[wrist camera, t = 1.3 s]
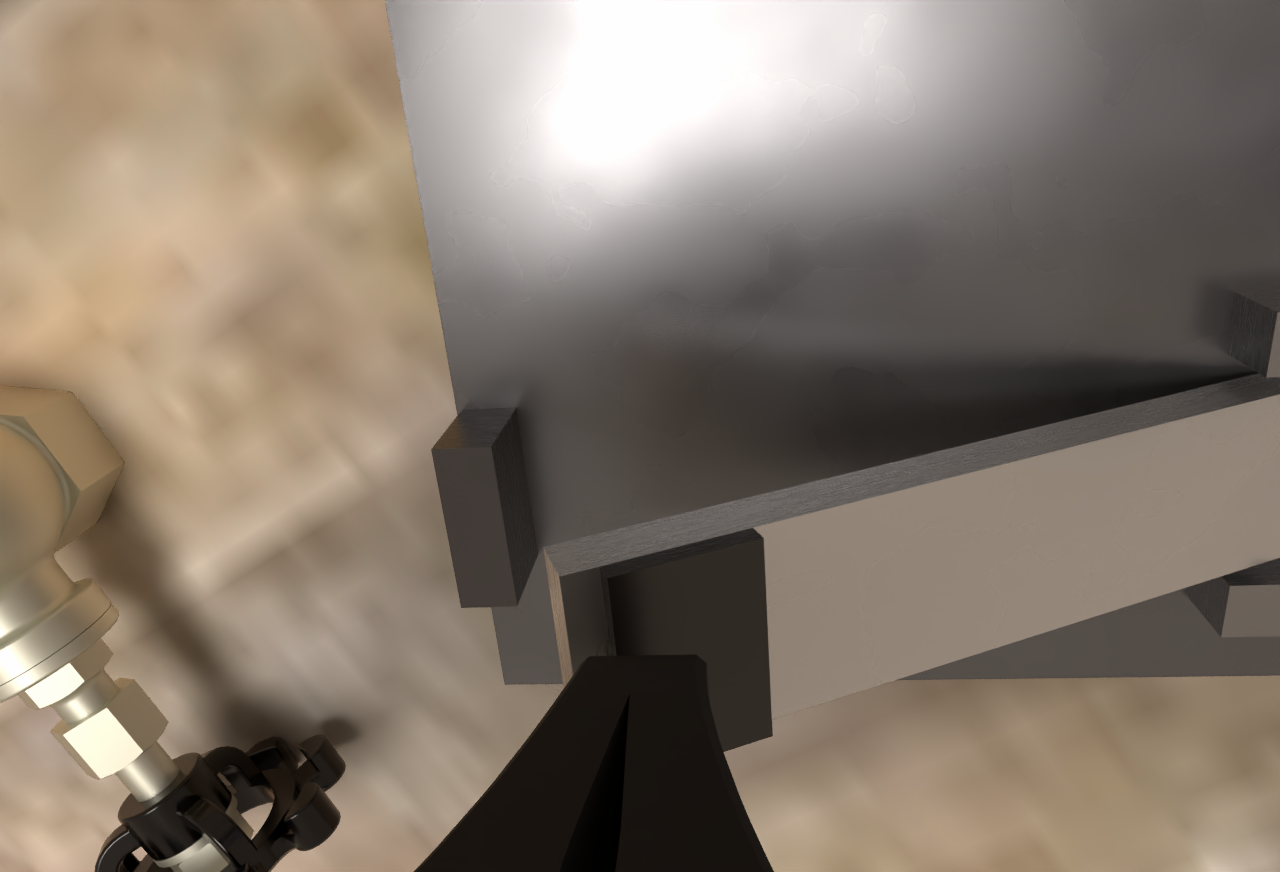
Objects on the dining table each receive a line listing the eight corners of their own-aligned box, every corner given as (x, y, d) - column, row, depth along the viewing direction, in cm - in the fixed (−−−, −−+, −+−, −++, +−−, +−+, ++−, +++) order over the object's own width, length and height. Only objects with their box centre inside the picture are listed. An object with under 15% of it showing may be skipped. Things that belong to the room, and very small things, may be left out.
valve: (-109, 432, 22) (195, 799, 25) (-439, 578, 16) (22, 1034, 19) (97, 314, 20) (391, 726, 24) (-182, 427, 14) (270, 958, 18)
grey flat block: (1498, -1056, 11) (1999, -1790, 7) (1219, 587, 20) (1359, 742, 15) (319, -792, 13) (102, -1230, 9) (535, 604, 22) (482, 745, 17)
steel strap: (1267, 371, 15) (1335, 390, 14) (1238, 536, 16) (1300, 564, 15) (542, 547, 11) (565, 588, 10) (571, 740, 13) (594, 794, 12)
